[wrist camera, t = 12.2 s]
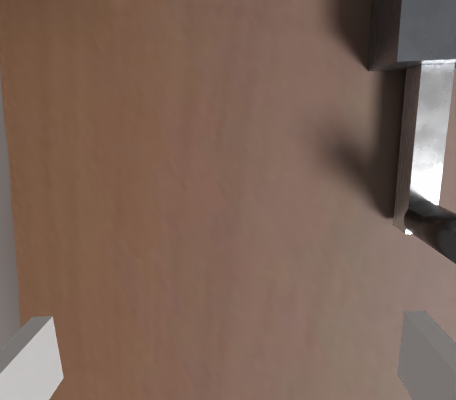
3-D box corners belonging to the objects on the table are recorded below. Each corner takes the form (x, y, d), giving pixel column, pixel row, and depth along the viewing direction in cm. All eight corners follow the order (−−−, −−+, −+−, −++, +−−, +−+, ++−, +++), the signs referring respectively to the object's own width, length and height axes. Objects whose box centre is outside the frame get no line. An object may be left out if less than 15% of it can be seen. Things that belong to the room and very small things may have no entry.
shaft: (407, 13, 40) (490, -36, 27) (446, 11, 40) (548, -39, 27) (389, 226, 47) (449, 270, 33) (423, 225, 46) (496, 269, 33)
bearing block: (373, -20, 40) (405, -51, 33) (478, -25, 40) (536, -58, 32) (368, 70, 43) (396, 61, 35) (467, 67, 42) (518, 56, 35)
